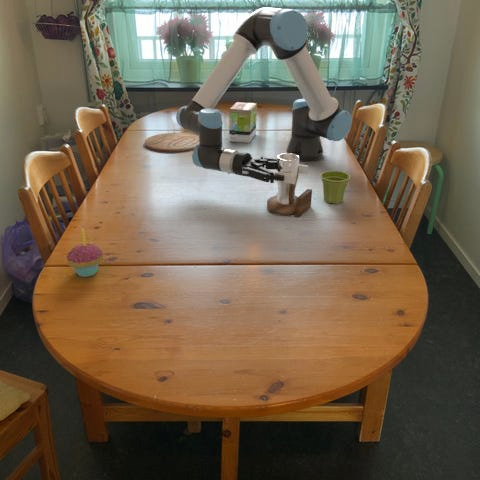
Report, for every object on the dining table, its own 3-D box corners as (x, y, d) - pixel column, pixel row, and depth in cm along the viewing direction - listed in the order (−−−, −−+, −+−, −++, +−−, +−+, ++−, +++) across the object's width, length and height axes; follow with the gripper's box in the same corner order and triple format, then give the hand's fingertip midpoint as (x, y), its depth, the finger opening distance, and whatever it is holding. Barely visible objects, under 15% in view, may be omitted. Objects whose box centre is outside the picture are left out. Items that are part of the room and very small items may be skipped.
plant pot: (330, 208, 159) (332, 182, 155) (313, 198, 166) (314, 173, 162) (353, 202, 163) (356, 177, 159) (335, 193, 170) (338, 169, 166)
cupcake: (73, 264, 127) (66, 221, 122) (107, 262, 128) (101, 220, 122) (66, 282, 120) (58, 237, 114) (102, 280, 120) (95, 236, 115)
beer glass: (282, 195, 162) (284, 151, 155) (300, 200, 159) (304, 155, 151) (270, 202, 157) (272, 157, 150) (290, 208, 154) (292, 162, 146)
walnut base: (260, 210, 157) (260, 193, 154) (276, 197, 166) (277, 180, 164) (297, 219, 152) (299, 201, 149) (312, 205, 161) (313, 188, 158)
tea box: (250, 143, 222) (251, 109, 215) (228, 141, 223) (228, 108, 216) (256, 134, 235) (257, 102, 228) (235, 132, 236) (235, 101, 230)
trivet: (133, 149, 214) (133, 144, 213) (163, 134, 235) (162, 130, 234) (185, 156, 206) (185, 151, 205) (211, 140, 226) (211, 136, 225)
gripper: (252, 164, 171) (313, 175, 162) (219, 184, 155) (286, 198, 145) (252, 142, 168) (315, 153, 158) (219, 160, 151) (287, 173, 141)
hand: (301, 174), depth 152 cm, fingers open, 9 cm apart
